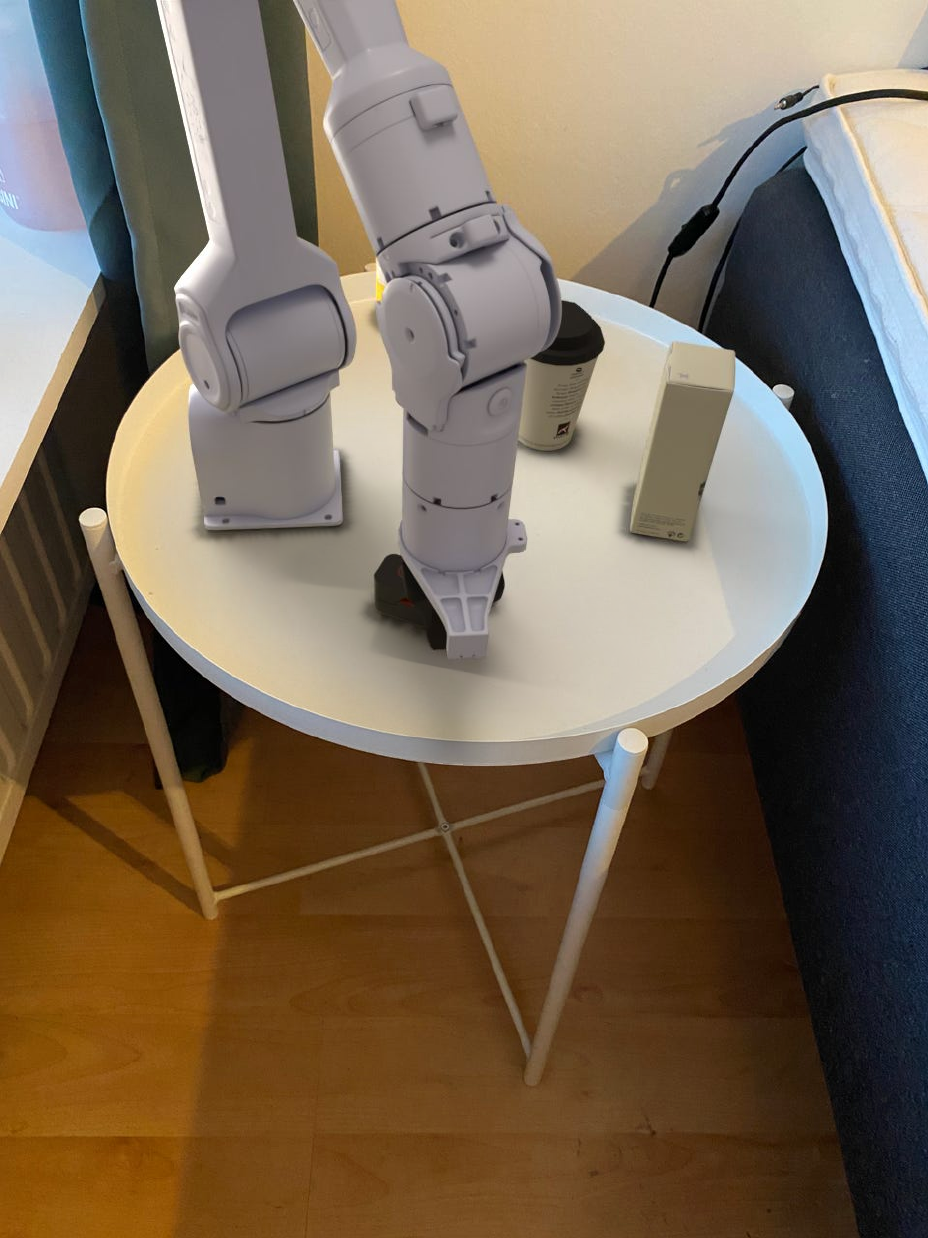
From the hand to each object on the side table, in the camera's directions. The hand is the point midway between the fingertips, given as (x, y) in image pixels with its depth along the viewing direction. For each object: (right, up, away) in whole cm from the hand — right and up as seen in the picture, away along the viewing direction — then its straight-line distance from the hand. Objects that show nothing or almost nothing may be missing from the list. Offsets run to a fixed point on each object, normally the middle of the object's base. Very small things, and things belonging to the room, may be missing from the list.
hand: (446, 642), depth 60 cm
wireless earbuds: (-1, +2, +4) cm, 4 cm away
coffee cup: (+7, +16, +17) cm, 24 cm away
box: (+15, +9, +11) cm, 21 cm away
